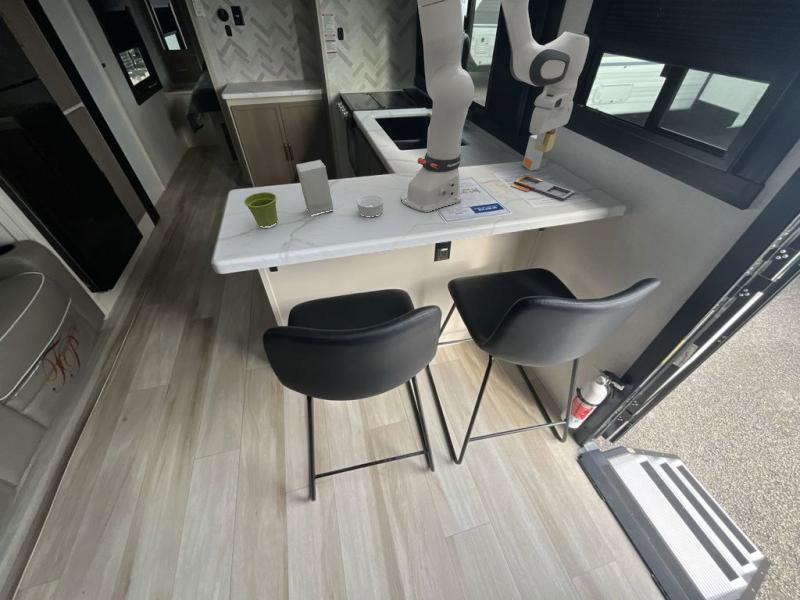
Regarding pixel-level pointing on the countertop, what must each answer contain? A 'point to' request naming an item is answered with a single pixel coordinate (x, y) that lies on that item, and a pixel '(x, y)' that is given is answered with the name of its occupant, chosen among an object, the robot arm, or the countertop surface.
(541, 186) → the rail
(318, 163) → the skincare box
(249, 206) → the plant pot
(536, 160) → the skincare box
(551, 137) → the yellow square block
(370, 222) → the countertop surface
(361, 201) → the ramekin
